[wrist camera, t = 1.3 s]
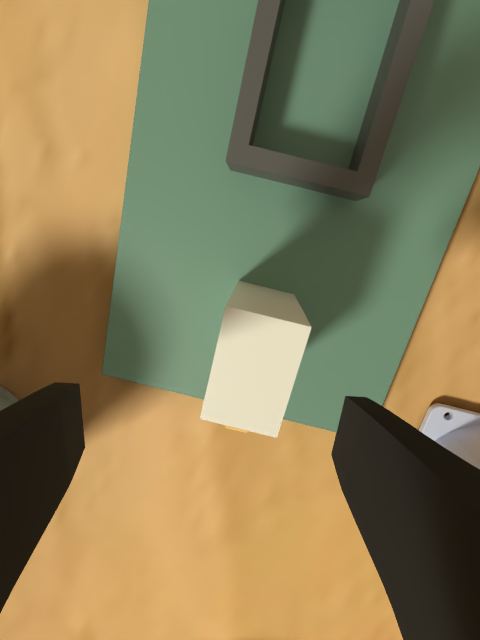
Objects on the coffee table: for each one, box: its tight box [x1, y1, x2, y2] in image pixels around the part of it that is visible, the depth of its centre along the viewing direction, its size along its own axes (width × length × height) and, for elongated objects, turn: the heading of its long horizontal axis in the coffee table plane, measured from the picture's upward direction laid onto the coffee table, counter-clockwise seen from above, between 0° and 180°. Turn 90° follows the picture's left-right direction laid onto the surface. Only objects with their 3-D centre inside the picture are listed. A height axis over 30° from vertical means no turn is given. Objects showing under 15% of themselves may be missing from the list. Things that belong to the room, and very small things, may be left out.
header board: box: [102, 0, 480, 432], centre depth 15 cm, size 16×22×3 cm
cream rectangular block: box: [200, 281, 312, 438], centre depth 14 cm, size 3×5×6 cm, turn 167°
